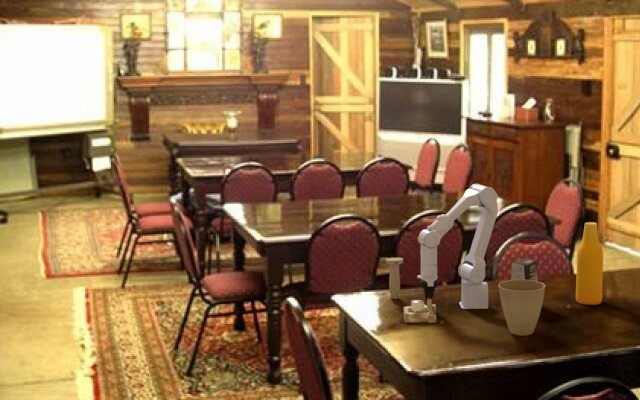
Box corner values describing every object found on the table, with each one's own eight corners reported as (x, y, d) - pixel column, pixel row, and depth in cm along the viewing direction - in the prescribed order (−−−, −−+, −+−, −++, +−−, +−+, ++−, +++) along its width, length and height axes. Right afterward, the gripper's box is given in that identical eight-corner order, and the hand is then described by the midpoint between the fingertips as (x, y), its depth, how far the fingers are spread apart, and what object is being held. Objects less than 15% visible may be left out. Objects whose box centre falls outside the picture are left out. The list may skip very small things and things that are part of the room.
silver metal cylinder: (427, 317, 324) (427, 300, 324) (421, 321, 320) (421, 303, 319) (413, 315, 327) (413, 299, 326) (407, 319, 322) (407, 302, 321)
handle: (404, 299, 348) (404, 260, 345) (388, 300, 346) (387, 261, 344) (401, 296, 352) (400, 257, 350) (384, 297, 351) (384, 258, 349)
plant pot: (527, 323, 315) (528, 277, 313) (553, 335, 301) (554, 287, 299) (489, 328, 310) (489, 282, 308) (513, 341, 296) (514, 293, 294)
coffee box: (526, 309, 332) (527, 265, 329) (510, 306, 336) (510, 262, 333) (537, 303, 339) (538, 259, 336) (521, 300, 343) (521, 257, 340)
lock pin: (431, 309, 331) (431, 297, 330) (434, 318, 320) (434, 305, 319) (427, 309, 331) (427, 297, 330) (429, 319, 320) (429, 306, 319)
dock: (435, 310, 332) (435, 302, 332) (438, 322, 318) (438, 314, 318) (402, 311, 332) (402, 303, 332) (405, 322, 319) (405, 314, 318)
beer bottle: (574, 303, 337) (576, 225, 332) (577, 297, 345) (579, 220, 341) (600, 306, 333) (603, 226, 329) (603, 299, 342) (605, 221, 337)
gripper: (415, 259, 336) (416, 295, 338) (419, 268, 322) (419, 306, 324) (435, 258, 336) (435, 295, 338) (439, 268, 321) (439, 306, 324)
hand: (428, 301), depth 331 cm, fingers closed
